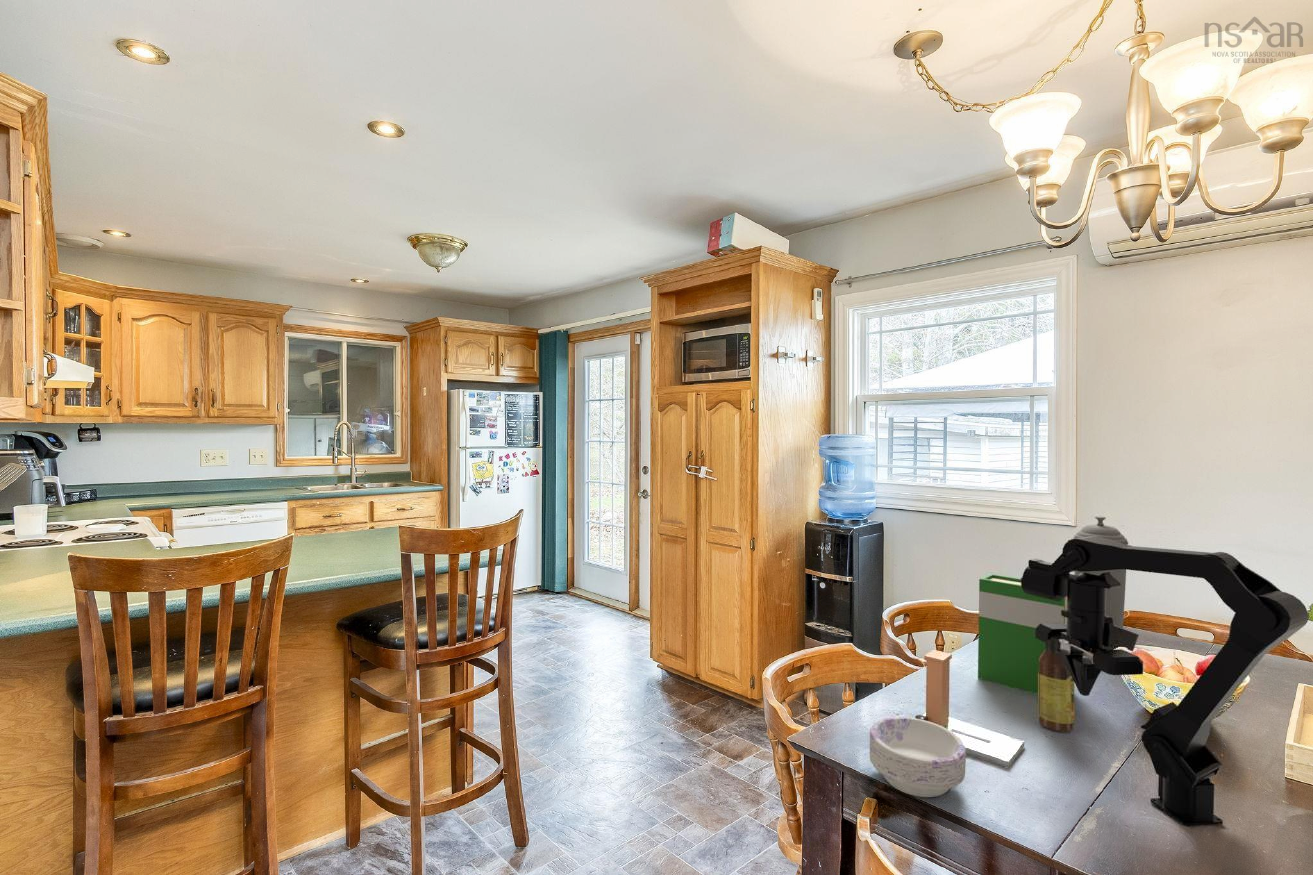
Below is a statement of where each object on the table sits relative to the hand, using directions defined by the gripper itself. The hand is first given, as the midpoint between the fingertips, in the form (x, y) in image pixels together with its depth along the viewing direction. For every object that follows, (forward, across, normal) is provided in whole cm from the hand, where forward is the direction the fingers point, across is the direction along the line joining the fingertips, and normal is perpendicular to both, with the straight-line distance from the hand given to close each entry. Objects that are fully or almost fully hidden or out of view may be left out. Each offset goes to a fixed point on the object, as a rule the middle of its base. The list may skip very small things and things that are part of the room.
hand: (1084, 694), depth 114 cm
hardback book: (+13, +35, -13) cm, 40 cm away
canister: (+13, +62, -54) cm, 83 cm away
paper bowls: (+13, -2, +32) cm, 35 cm away
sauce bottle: (+13, +15, -6) cm, 21 cm away
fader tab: (+12, +15, +19) cm, 27 cm away
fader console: (+13, +11, +16) cm, 23 cm away
